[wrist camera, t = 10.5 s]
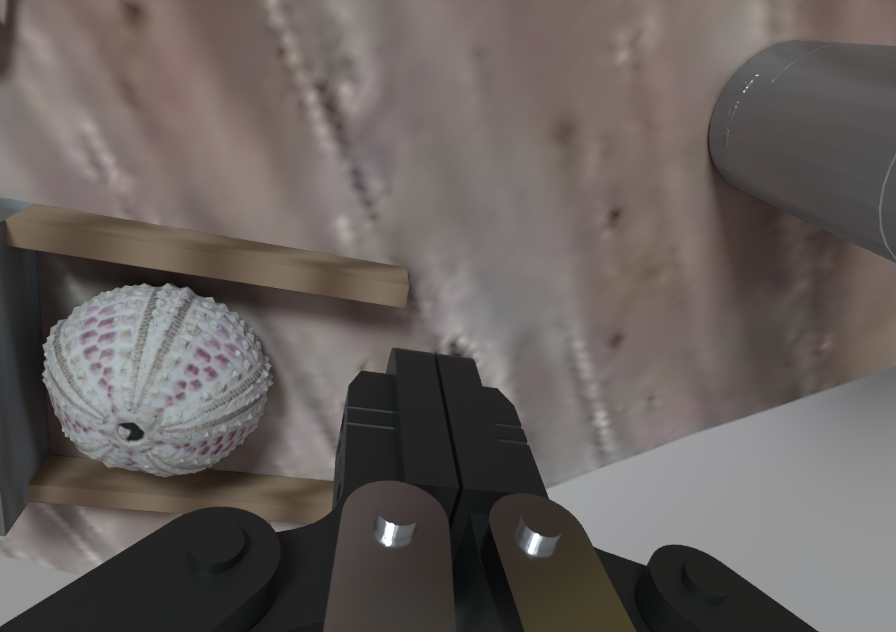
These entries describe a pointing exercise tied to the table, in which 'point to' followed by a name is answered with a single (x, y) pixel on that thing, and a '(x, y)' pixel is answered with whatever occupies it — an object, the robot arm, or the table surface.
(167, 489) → the track
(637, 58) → the table surface
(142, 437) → the sea urchin shell
